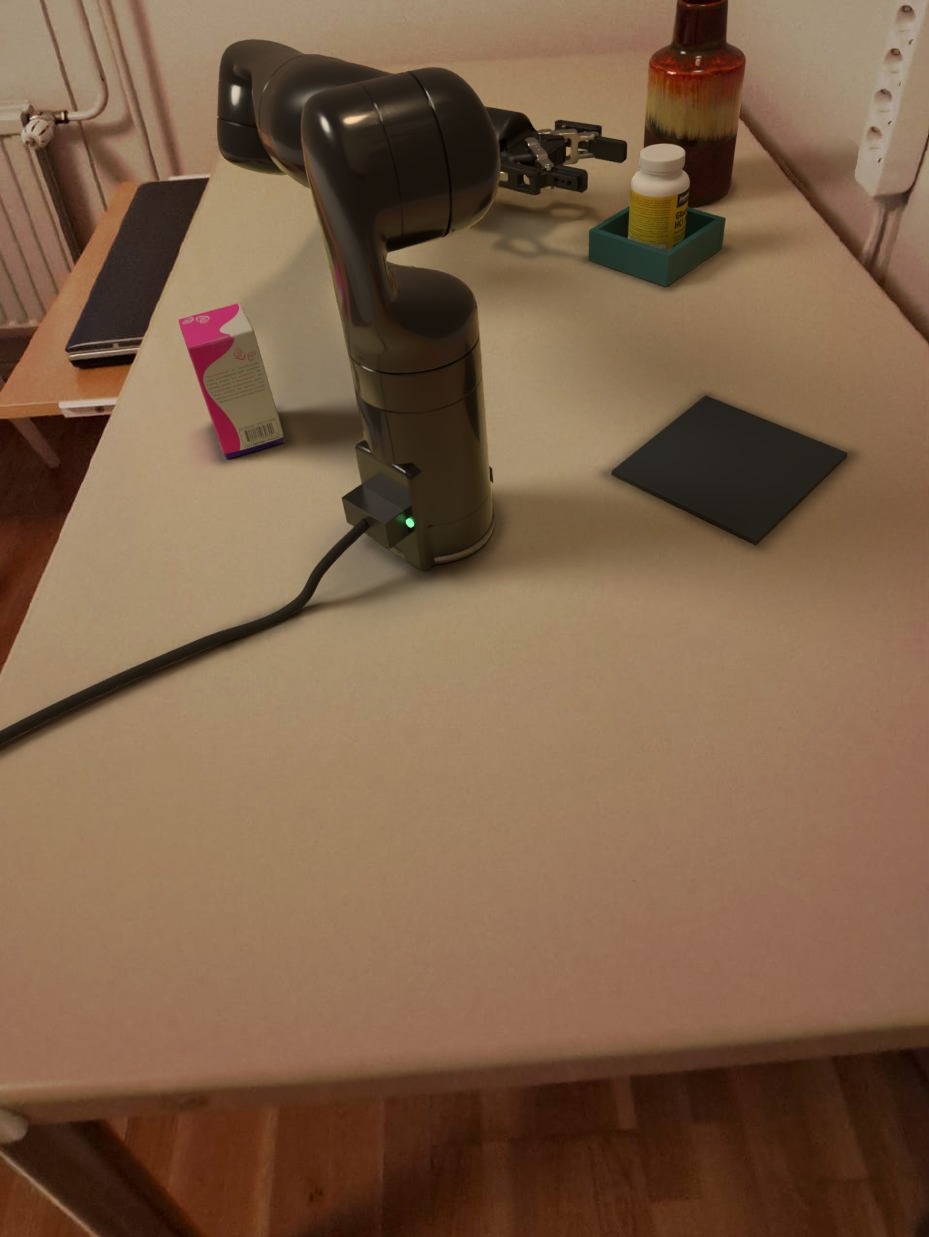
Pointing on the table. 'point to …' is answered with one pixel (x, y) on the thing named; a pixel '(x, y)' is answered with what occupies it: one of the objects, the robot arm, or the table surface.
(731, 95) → the vase
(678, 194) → the pill bottle
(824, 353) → the table surface
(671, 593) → the table surface
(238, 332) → the supplement box
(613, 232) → the square frame
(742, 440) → the mat
